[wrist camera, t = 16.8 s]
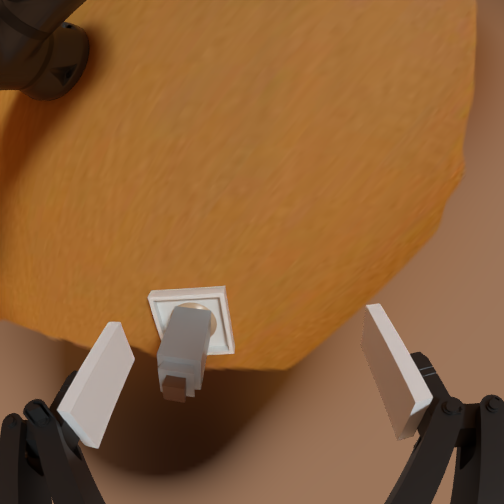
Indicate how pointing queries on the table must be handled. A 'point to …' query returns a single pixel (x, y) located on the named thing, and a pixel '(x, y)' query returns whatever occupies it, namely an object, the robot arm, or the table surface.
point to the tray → (198, 299)
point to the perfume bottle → (183, 353)
